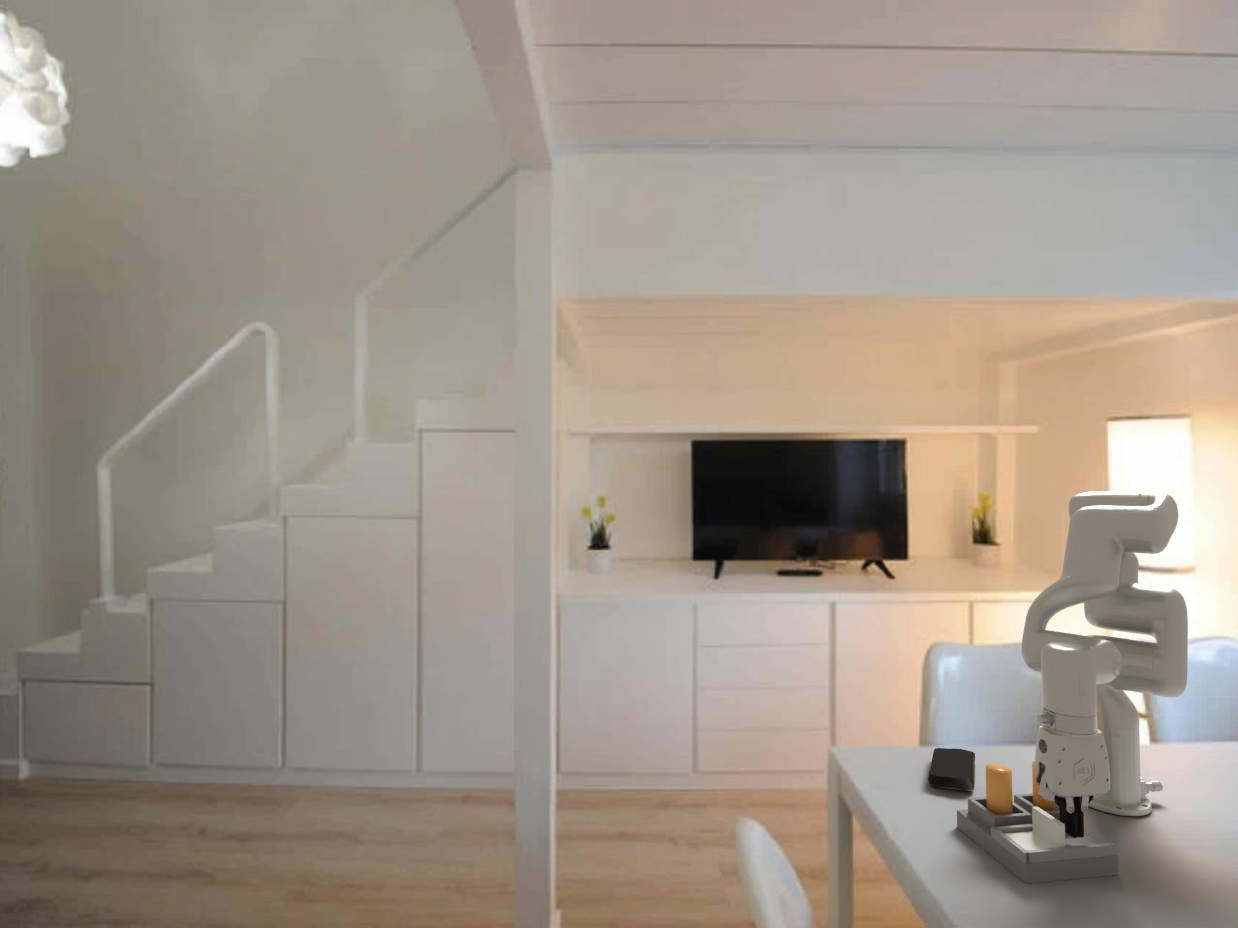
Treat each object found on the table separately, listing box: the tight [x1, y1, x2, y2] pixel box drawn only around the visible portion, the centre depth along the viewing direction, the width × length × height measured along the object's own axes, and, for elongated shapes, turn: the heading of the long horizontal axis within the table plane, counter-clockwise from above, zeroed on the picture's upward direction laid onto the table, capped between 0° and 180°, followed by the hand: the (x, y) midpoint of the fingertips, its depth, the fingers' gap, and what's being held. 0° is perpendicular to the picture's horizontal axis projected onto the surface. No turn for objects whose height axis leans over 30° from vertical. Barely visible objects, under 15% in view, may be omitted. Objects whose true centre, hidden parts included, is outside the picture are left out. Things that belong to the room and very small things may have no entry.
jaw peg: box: [985, 763, 1014, 815], centre depth 117 cm, size 4×4×9 cm
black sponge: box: [927, 747, 976, 792], centre depth 141 cm, size 16×8×4 cm, turn 151°
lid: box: [1004, 807, 1065, 850], centre depth 109 cm, size 7×6×5 cm
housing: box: [956, 760, 1119, 884], centre depth 114 cm, size 18×17×12 cm
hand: (1071, 832), depth 110 cm, fingers closed
